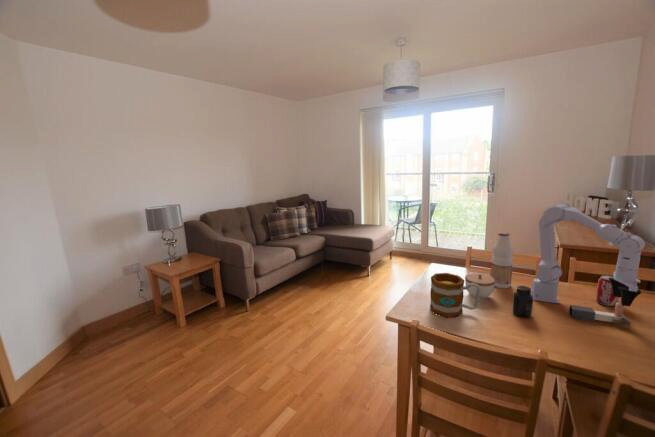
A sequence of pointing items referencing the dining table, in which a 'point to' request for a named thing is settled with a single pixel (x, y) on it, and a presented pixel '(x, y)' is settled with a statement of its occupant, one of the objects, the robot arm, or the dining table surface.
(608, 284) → the soda can
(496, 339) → the dining table surface
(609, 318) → the sliding bolt
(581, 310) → the sleeve
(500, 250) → the fruit juice
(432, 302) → the mug
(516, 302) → the supplement bottle
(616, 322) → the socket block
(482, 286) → the lidded bowl
